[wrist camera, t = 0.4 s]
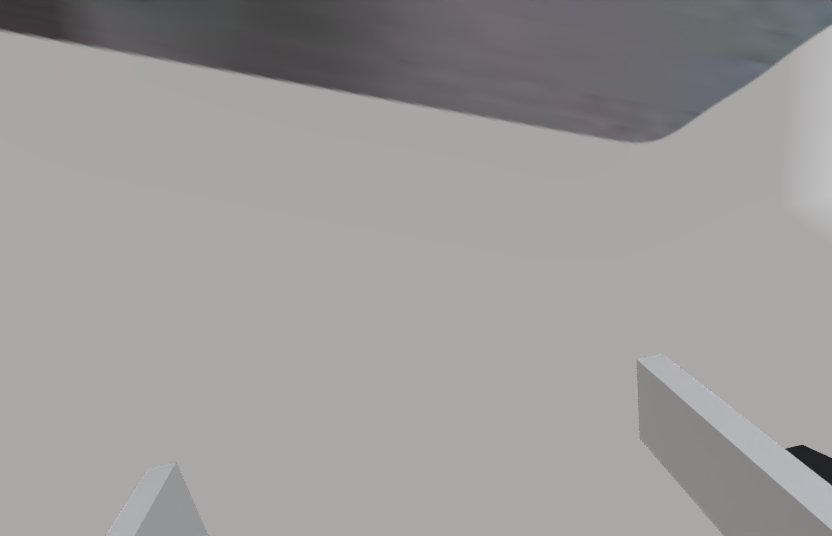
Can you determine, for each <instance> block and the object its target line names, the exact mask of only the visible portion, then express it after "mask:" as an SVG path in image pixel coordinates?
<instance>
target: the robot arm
mask: <svg viewBox="0 0 832 536" xmlns="http://www.w3.org/2000/svg"><path fill="white" fill-rule="evenodd" d="M637 380H638V403H639V404H638V405H639V430H640V439H641V440H642V441H643V443H644V444H645V445H646V446H647V447H648V448H649V450H651V452H652V453H653V454H654V455H655V457H656V458H657V459H658V460H659V461H660V462H661V463H662V465H663V466H664V467H665V468H666V469H667V470H668V472H669V473H670V474H671V475H672V476H673V477H674V478H675V480H676V481H677V482H678V483H679V484H680V485H681V487H682V488H683V489H684V490H685V491H686V492H687V493H688V494H689V496H690V497H691V498H692V499H693V500H694V502H695V503H696V504H697V505H698V506H699V507H700V509H701V510H702V511H703V512H704V513H705V514H706V516H707V517H708V518H709V519H710V520H711V521H712V522H713V524H714V525H715V526H716V527H717V528H718V529H719V531H721V533H722V534H723V535H724V536H832V458H830V457H828V456H826V455H823V454H821V453H819V452H817V451H815V450H813V449H810V448H808V447H806V446H804V445H799V446H795V447H791V448H787V449H784V448H783V447H782V446H780V445H779V444H778V443H776V442H775V441H774V440H773V439H771V438H770V437H769V436H768V435H766V434H765V433H764V432H762V431H761V430H760V429H759V428H757V427H756V426H755V425H753V424H752V423H751V422H750V421H748V420H747V419H746V418H744V417H743V416H742V415H741V414H739V413H738V412H737V411H736V410H734V409H733V408H732V407H730V406H729V405H728V404H727V403H725V402H724V401H723V400H721V399H720V398H719V397H717V396H716V395H715V394H714V393H712V392H711V391H710V390H709V389H707V388H706V387H705V386H703V385H702V384H701V383H700V382H698V381H697V380H696V379H694V378H693V377H692V376H690V375H689V374H688V373H687V372H686V371H684V370H683V369H682V368H680V367H679V366H678V365H677V364H675V363H674V362H673V361H671V360H670V359H669V358H667V357H666V356H665V355H664V354H658V355H654V356H649V357H645V358H641V359H637ZM105 536H208V534H207V531H206V529H205V527H204V524H203V522H202V520H201V518H200V516H199V513H198V511H197V508H196V506H195V504H194V501H193V499H192V497H191V495H190V492H189V490H188V488H187V485H186V483H185V481H184V479H183V476H182V474H181V472H180V470H179V467H178V465H177V463H176V462H174V463H170V464H166V465H162V466H157V467H152V468H149V469H148V470H147V471H146V473H145V474H144V476H143V478H142V479H141V481H140V482H139V484H138V485H137V487H136V488H135V490H134V492H133V493H132V495H131V496H130V498H129V499H128V501H127V503H126V504H125V506H124V507H123V509H122V510H121V512H120V513H119V515H118V517H117V518H116V520H115V522H114V523H113V524H112V526H111V528H110V529H109V531H108V532H107V534H106V535H105Z"/></svg>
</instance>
